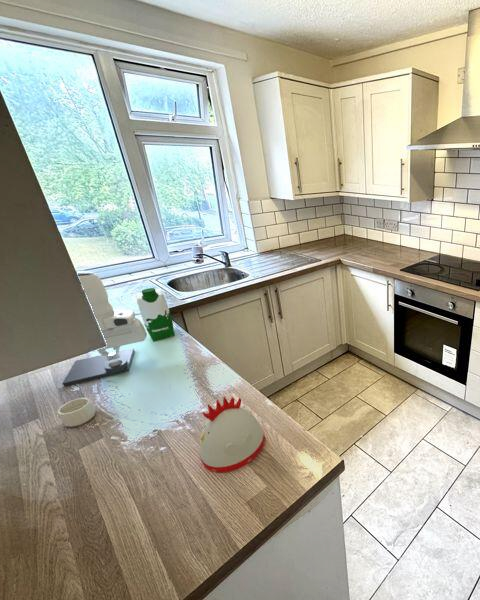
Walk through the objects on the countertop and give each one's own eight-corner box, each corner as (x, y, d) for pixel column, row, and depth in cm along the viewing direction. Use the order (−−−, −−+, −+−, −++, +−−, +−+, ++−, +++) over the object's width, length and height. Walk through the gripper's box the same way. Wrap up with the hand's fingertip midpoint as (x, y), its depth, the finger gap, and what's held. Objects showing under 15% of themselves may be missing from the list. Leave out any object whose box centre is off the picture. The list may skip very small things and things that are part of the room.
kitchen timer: (193, 447, 80) (177, 399, 74) (250, 418, 89) (239, 372, 83) (214, 484, 71) (197, 432, 65) (274, 447, 80) (264, 398, 74)
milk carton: (150, 343, 124) (133, 294, 116) (148, 334, 130) (132, 287, 122) (177, 336, 129) (163, 289, 121) (174, 327, 136) (160, 282, 128)
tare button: (109, 367, 105) (107, 363, 105) (111, 363, 108) (109, 359, 107) (120, 365, 107) (118, 361, 106) (121, 361, 109) (120, 357, 108)
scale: (63, 388, 100) (59, 380, 99) (76, 364, 112) (73, 356, 110) (128, 372, 107) (125, 365, 106) (134, 351, 119) (132, 344, 118)
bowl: (61, 431, 84) (53, 417, 83) (68, 415, 90) (61, 402, 88) (92, 422, 87) (86, 409, 85) (98, 407, 92) (92, 394, 91)
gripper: (48, 333, 93) (68, 373, 99) (137, 317, 103) (150, 354, 108) (56, 324, 98) (74, 363, 104) (139, 310, 108) (152, 346, 113)
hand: (113, 358), depth 106 cm, fingers closed
